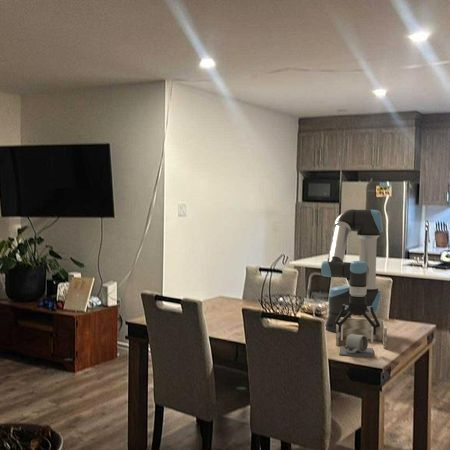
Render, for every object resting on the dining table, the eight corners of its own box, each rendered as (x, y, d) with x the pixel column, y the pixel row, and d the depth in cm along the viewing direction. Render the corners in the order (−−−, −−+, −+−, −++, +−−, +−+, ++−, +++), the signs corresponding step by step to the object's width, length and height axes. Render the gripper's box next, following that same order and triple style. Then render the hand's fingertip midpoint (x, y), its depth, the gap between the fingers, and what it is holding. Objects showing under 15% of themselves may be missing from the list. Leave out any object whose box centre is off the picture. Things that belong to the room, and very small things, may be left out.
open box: (335, 345, 273) (336, 324, 272) (337, 336, 290) (337, 317, 289) (386, 349, 268) (386, 328, 267) (384, 339, 284) (385, 320, 284)
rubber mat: (339, 355, 256) (339, 353, 256) (340, 347, 269) (340, 346, 269) (373, 357, 253) (373, 356, 253) (372, 350, 266) (372, 348, 266)
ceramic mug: (352, 347, 267) (352, 331, 266) (368, 350, 261) (368, 334, 261) (340, 352, 259) (340, 335, 259) (356, 355, 253) (356, 338, 253)
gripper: (329, 295, 259) (328, 340, 260) (386, 298, 253) (385, 344, 255) (330, 292, 266) (329, 336, 268) (385, 294, 260) (384, 340, 262)
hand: (356, 340), depth 261 cm, fingers open, 13 cm apart
